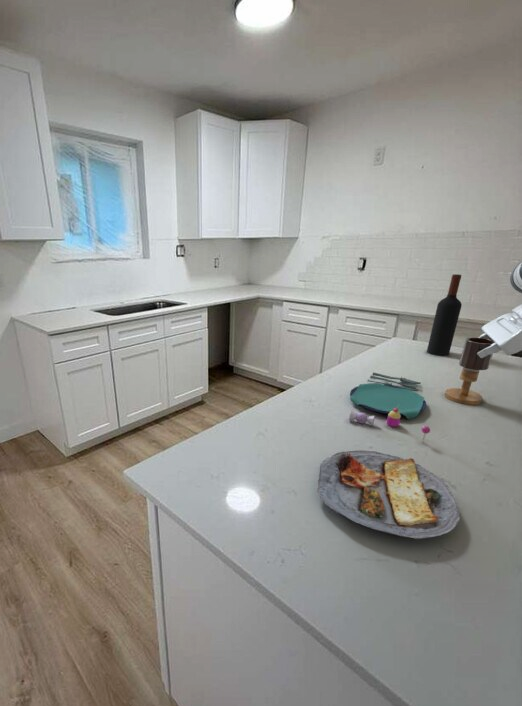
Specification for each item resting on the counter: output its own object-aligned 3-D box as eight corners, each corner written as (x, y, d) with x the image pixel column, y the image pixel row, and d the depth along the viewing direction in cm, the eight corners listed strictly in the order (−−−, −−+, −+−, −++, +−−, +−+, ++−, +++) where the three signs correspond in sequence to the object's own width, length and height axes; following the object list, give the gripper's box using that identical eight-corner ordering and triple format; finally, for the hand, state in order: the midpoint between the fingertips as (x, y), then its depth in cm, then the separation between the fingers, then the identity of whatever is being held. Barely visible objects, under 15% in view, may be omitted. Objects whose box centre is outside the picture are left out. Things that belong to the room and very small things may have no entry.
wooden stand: (476, 393, 109) (485, 366, 106) (485, 406, 102) (495, 377, 98) (441, 390, 112) (449, 362, 109) (448, 402, 105) (456, 373, 101)
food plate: (322, 449, 85) (323, 437, 83) (437, 469, 77) (441, 455, 75) (312, 525, 64) (314, 510, 62) (469, 564, 55) (476, 547, 54)
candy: (346, 426, 94) (349, 405, 92) (353, 413, 100) (356, 393, 98) (426, 445, 85) (432, 422, 83) (428, 430, 91) (434, 408, 89)
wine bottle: (423, 353, 144) (441, 275, 132) (430, 348, 149) (448, 273, 137) (445, 357, 139) (466, 276, 127) (451, 352, 144) (472, 274, 132)
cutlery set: (340, 408, 104) (341, 400, 103) (366, 374, 125) (367, 368, 125) (419, 427, 93) (421, 419, 92) (433, 387, 114) (435, 380, 113)
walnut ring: (483, 363, 104) (491, 338, 101) (491, 371, 98) (499, 344, 96) (456, 361, 106) (463, 336, 103) (462, 368, 101) (469, 342, 98)
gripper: (510, 302, 102) (460, 333, 110) (537, 318, 85) (476, 353, 92) (525, 319, 102) (474, 349, 110) (555, 338, 85) (492, 371, 93)
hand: (475, 351), depth 101 cm, fingers closed on walnut ring, 6 cm apart
